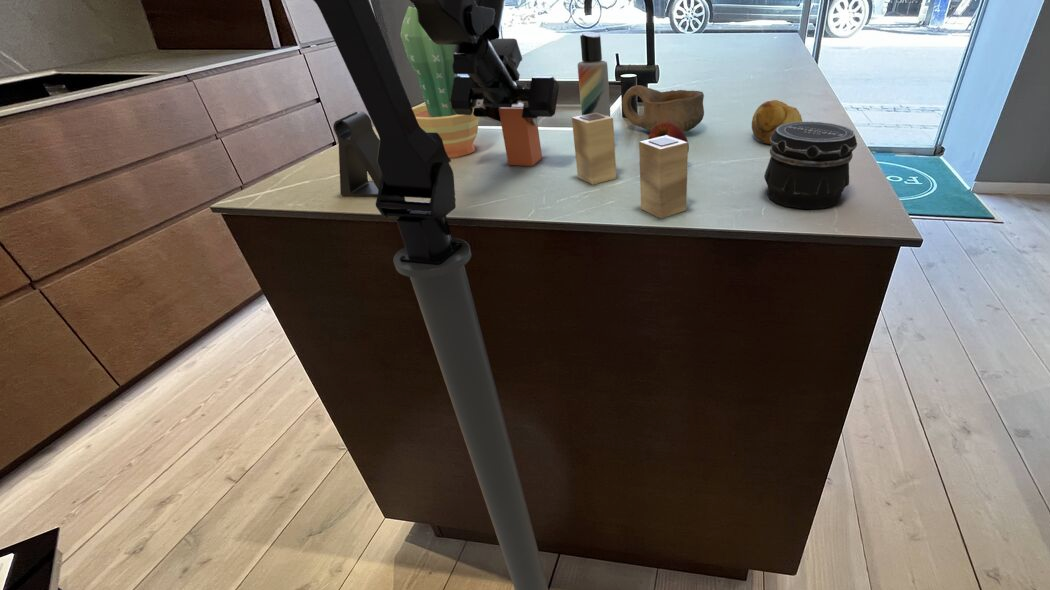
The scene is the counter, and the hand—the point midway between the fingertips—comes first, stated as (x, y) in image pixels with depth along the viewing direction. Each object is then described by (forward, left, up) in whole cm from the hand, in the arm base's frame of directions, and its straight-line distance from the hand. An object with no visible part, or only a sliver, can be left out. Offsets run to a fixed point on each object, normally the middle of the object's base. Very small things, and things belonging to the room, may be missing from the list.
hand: (522, 123), depth 99 cm
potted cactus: (+3, +18, -7) cm, 19 cm away
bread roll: (+21, -46, -7) cm, 51 cm away
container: (-11, -52, -7) cm, 54 cm away
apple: (-1, -28, -7) cm, 29 cm away
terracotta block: (-1, 0, -7) cm, 7 cm away
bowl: (+23, -22, -7) cm, 32 cm away
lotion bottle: (+11, -11, -7) cm, 17 cm away
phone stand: (-20, +20, -7) cm, 29 cm away
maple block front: (-21, -31, -7) cm, 38 cm away
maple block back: (-8, -17, -7) cm, 20 cm away
